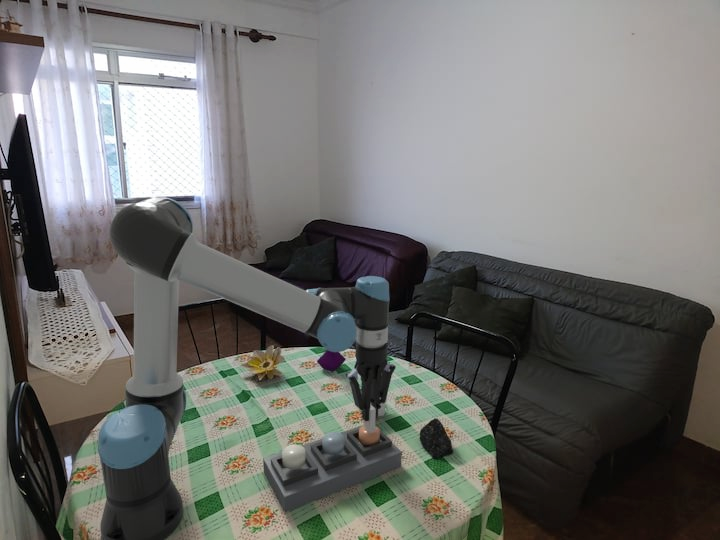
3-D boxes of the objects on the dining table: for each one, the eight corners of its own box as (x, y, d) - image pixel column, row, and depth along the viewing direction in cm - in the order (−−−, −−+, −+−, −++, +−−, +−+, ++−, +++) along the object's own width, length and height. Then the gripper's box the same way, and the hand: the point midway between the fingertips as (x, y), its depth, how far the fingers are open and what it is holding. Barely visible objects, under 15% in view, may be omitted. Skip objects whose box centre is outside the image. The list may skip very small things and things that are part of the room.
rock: (433, 462, 110) (434, 441, 109) (413, 438, 119) (414, 419, 118) (457, 455, 113) (458, 435, 111) (435, 433, 122) (437, 414, 121)
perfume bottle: (333, 375, 152) (333, 326, 148) (316, 369, 156) (316, 321, 152) (346, 367, 158) (346, 320, 154) (329, 361, 162) (329, 315, 158)
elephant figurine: (366, 428, 123) (367, 399, 121) (349, 406, 134) (349, 379, 132) (396, 420, 127) (397, 392, 125) (377, 399, 138) (378, 373, 135)
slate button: (328, 457, 102) (328, 448, 101) (318, 445, 106) (318, 436, 106) (348, 450, 104) (348, 441, 104) (338, 438, 109) (338, 429, 108)
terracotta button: (365, 448, 107) (365, 439, 106) (354, 437, 111) (355, 428, 111) (383, 442, 110) (383, 433, 109) (372, 431, 114) (372, 422, 113)
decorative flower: (233, 366, 154) (239, 339, 152) (261, 363, 162) (267, 338, 160) (254, 385, 143) (261, 357, 142) (283, 382, 151) (290, 355, 150)
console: (285, 512, 94) (284, 490, 92) (263, 472, 105) (262, 452, 104) (401, 466, 108) (401, 446, 107) (371, 435, 120) (371, 417, 119)
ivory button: (287, 472, 97) (287, 462, 96) (279, 458, 101) (278, 449, 101) (309, 464, 100) (309, 454, 99) (300, 451, 104) (300, 442, 103)
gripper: (355, 353, 98) (354, 446, 104) (403, 342, 104) (399, 430, 110) (339, 341, 104) (339, 429, 110) (386, 331, 110) (383, 415, 116)
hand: (369, 430), depth 110 cm, fingers closed
